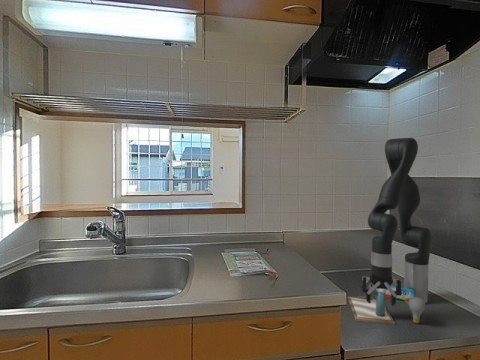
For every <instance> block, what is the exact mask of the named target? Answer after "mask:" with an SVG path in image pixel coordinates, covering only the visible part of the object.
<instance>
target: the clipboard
mask: <svg viewBox="0 0 480 360" xmlns="http://www.w3.org/2000/svg"><path fill="white" fill-rule="evenodd" d="M347 300H348V303H349V306H350V309H351V311H352V314H353V317H354V320H355V321H357V322H365V323H374V324H382V325H393V326H396V322H395V321H394V319H393V317H392V316H391V314H390V312H389V311H388V309H387V308H386V306H385V316H384V317H380V316H377V315H376V298H373V297H372V296H371V303H368V302H367V300H366V296H362V295H357V297H355V296H347Z"/></svg>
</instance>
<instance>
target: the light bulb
mask: <svg viewBox="0 0 480 360" xmlns="http://www.w3.org/2000/svg"><path fill="white" fill-rule="evenodd" d="M408 307H409V309H410V311H411V312H412V318H413V319H412V321H413V323H414V324H420V318H421V315H422V313H423V312H424V311H425V308H426V303H424V301H423V300H422V299H420V298H418V297H412V298H410V300H409V303H408Z"/></svg>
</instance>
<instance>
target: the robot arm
mask: <svg viewBox="0 0 480 360" xmlns="http://www.w3.org/2000/svg"><path fill="white" fill-rule="evenodd" d="M418 149H419V146H418V141H417V140H416V139H415V138H414V137H401V138H398V137H397V138H391V139H388V140H386V142H385V145H384V154H385V155H384V156H385V158H386V162H387V164H388V165H387V166H388V169H389V172H390V176H389V177H388V178H387V179H386V180H385V182H383V184H382V186H381V189H380V192H379V197H378V200H377V201H376V203H375V205H374V206H373V208H372V210H371V212H370V213H369V214H368V218H367V225H368V227H369V228H370V229H371V230H375V231H380V232H382V235H377V236H374V237H373V238H372V240H371V255H370V256H371V257H370V276H366V275H362V276H361V286H360V289H361V292H362V293H365V297H366V300H367V302H368V303H371V297H372V295H371V293H373V292H374V291H376V288H377V289H378V288H381V289H388V290H389V291H390V292H391V298H390V300H389V302H390V305H391V306H394V307H395V305H396V303H397V301H396V296H397V295H399V296H400V295H401V288H402V281H401V280H400V279H399V278H393V255H392V254H393V253H392V251H393V249H392V247H393V240H394V237H395V233H396V232H397V228H398V219H397V218H396V216H395V215H394V214H390V213H386V212H387V211H391V210H395V209H396V208H397V212H398V218H399V231H400V237H401V241H402V243H403V244H404V245H405V246H409V247H413V248H417V249H418V250H417V251H415V252H407V253H406V254H405V255H404V277H403V278H404V279H403V281H404V282H403V283H404V284H403V288H406V289H412V290H414V297H418V298H420V299H422V300H423V301H424V303H425V304H427V303H428V301H429V299H428V297H429V267H430V265H429V264H430V261H429V260H430V254H431V241H432V233H431V230H430V229H429V228H427V227H424V226H423V227H422V226H416V225H412V221H411V219H412V216H413V214H414V213H415V212H416V210H417V209H418V207H419V206H420V203H421V195H420V190H419V185H417V183H416V181H415V180H414V178H412V177H411V176H410V174H409V173H410V172H411V169H412V166H413V165H414V163H415V160H416V158H417V154H418ZM369 281H370V283H369V285H368V287H367V284H368V282H369ZM393 283H394V286H395V287H396V291H393V290H392V288H391V287H390V286H392V285H393Z"/></svg>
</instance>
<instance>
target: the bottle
mask: <svg viewBox="0 0 480 360" xmlns="http://www.w3.org/2000/svg"><path fill="white" fill-rule="evenodd" d="M375 292H376V293H375V294H376V295H375V299H376V315H377V316H380V317H384V316H385V307H386V299H385V292H386V289H381V288H378V289H377V288H376V289H375Z"/></svg>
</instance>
